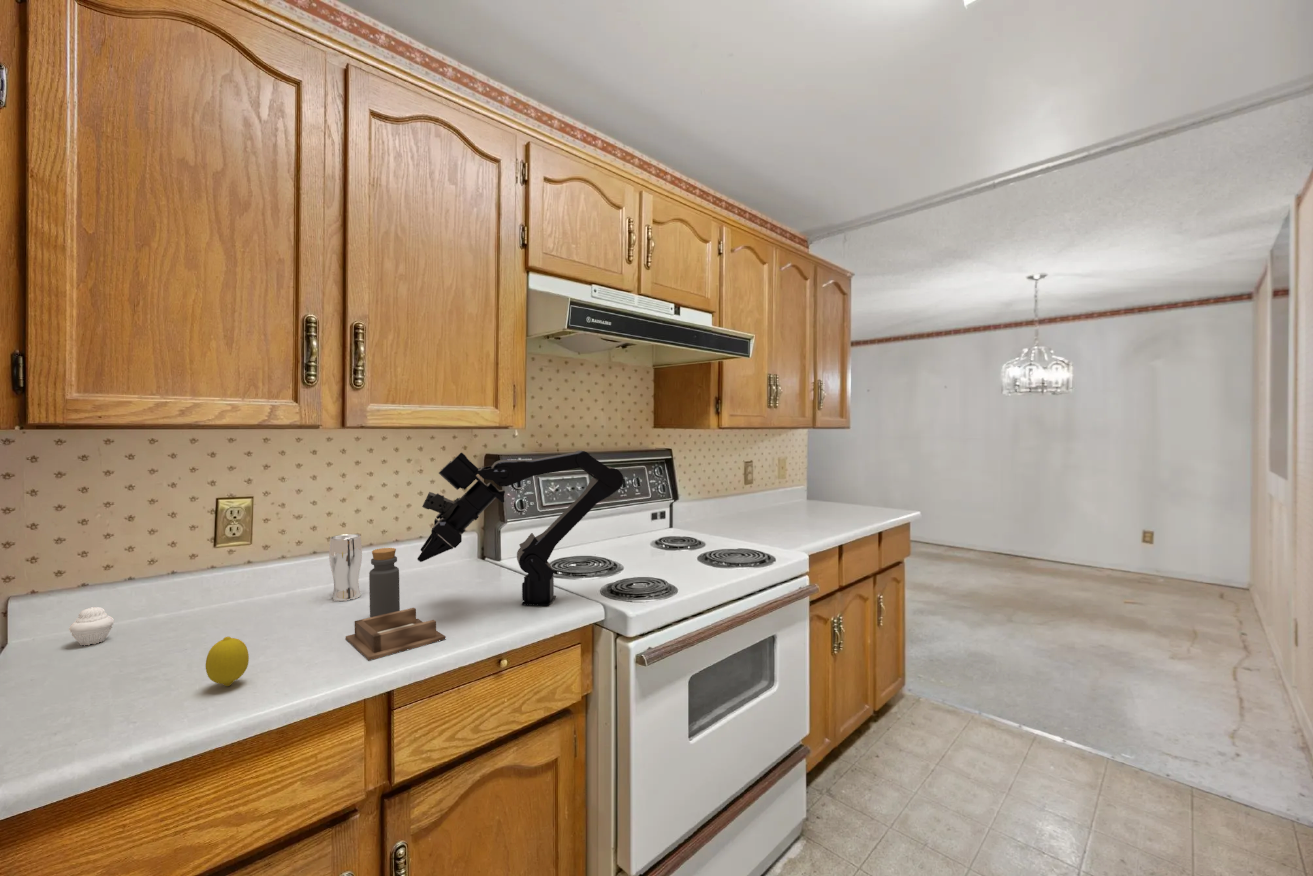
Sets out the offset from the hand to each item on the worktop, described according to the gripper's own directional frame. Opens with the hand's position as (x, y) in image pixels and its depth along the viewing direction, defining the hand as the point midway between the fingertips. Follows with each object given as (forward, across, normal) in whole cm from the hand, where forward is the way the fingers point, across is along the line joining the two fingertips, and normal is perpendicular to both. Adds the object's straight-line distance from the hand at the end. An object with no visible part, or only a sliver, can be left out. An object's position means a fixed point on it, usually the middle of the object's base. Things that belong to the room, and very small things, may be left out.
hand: (420, 555), depth 123 cm
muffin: (+51, -4, -32) cm, 61 cm away
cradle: (+12, +14, +7) cm, 19 cm away
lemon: (+29, +26, -10) cm, 40 cm away
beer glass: (+22, -19, -3) cm, 30 cm away
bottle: (+14, 0, +4) cm, 15 cm away
